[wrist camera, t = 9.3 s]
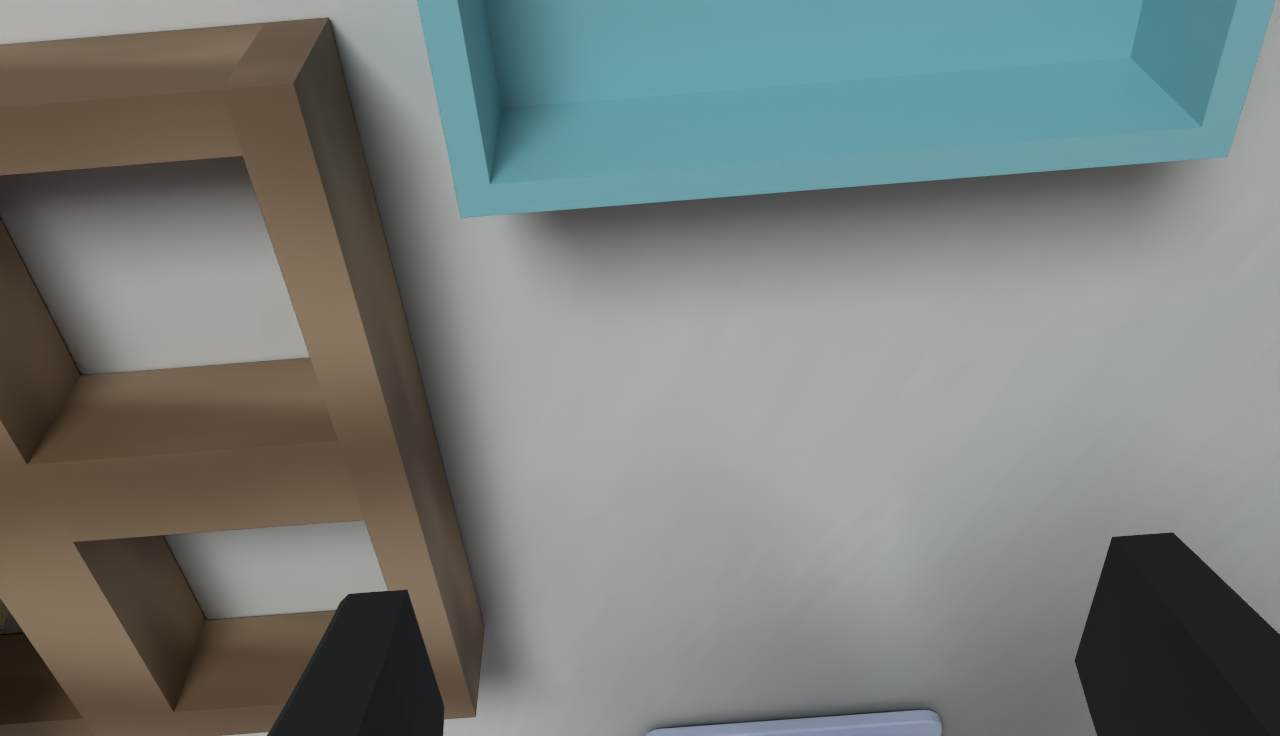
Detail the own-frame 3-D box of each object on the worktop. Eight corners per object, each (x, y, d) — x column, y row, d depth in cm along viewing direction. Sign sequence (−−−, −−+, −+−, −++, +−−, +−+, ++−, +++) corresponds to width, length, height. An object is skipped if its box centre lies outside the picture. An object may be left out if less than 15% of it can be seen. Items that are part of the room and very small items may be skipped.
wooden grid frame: (484, 626, 26) (475, 716, 24) (-125, 671, 26) (-183, 764, 24) (328, 17, 16) (293, 83, 14) (-619, 96, 17) (-782, 171, 15)
